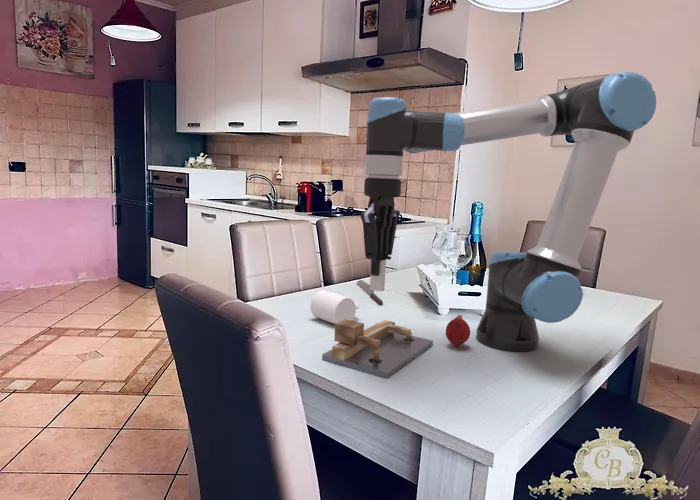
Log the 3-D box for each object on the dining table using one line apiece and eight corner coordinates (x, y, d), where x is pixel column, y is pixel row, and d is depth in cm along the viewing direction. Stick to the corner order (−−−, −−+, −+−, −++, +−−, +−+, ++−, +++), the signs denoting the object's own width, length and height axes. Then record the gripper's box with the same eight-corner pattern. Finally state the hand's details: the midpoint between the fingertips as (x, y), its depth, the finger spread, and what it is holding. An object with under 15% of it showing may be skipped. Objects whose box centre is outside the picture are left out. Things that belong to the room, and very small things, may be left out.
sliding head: (382, 356, 104) (384, 328, 103) (373, 362, 101) (375, 333, 100) (343, 346, 109) (344, 319, 108) (333, 351, 106) (335, 323, 105)
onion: (464, 352, 113) (466, 320, 112) (440, 347, 116) (443, 315, 115) (471, 345, 118) (474, 314, 116) (449, 340, 121) (451, 310, 119)
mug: (334, 329, 126) (335, 299, 125) (309, 320, 133) (310, 292, 131) (365, 321, 134) (367, 293, 133) (341, 312, 141) (342, 286, 140)
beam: (416, 336, 119) (417, 327, 118) (368, 367, 99) (369, 355, 98) (383, 329, 124) (384, 319, 123) (331, 357, 103) (332, 346, 103)
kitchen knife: (383, 295, 150) (358, 272, 179) (379, 295, 150) (355, 273, 178) (382, 308, 151) (358, 283, 179) (379, 308, 151) (355, 284, 179)
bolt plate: (432, 345, 117) (433, 340, 117) (387, 378, 97) (387, 372, 96) (375, 331, 125) (375, 327, 125) (322, 359, 105) (322, 354, 105)
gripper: (382, 177, 105) (376, 282, 109) (350, 175, 94) (345, 292, 98) (413, 178, 101) (406, 287, 105) (384, 177, 90) (377, 299, 94)
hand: (377, 289), depth 101 cm, fingers closed
